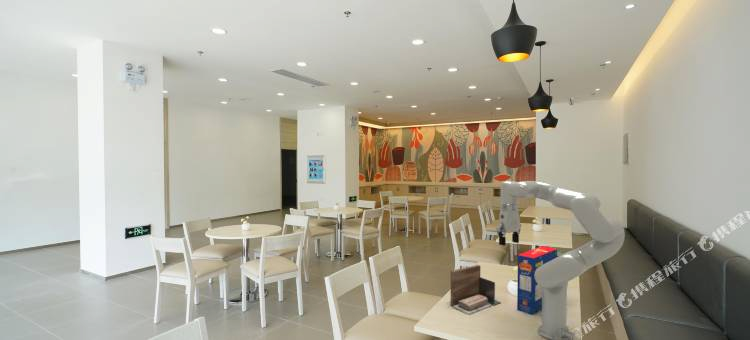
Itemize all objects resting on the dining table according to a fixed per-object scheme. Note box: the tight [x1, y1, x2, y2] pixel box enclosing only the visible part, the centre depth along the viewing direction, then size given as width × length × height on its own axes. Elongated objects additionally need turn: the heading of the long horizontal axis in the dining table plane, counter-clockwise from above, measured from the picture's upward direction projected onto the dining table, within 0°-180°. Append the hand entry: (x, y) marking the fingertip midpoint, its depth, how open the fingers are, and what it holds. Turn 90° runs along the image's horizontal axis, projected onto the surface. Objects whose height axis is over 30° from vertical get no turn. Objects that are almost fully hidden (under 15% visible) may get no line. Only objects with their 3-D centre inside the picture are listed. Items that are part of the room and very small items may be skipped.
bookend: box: [479, 276, 502, 306], centre depth 190 cm, size 10×6×12 cm, turn 32°
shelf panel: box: [450, 264, 481, 308], centre depth 189 cm, size 2×20×18 cm, turn 122°
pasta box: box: [516, 245, 558, 316], centre depth 185 cm, size 28×8×28 cm, turn 132°
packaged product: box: [453, 295, 493, 316], centre depth 183 cm, size 18×5×10 cm
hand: (509, 243), depth 168 cm, fingers open, 9 cm apart
